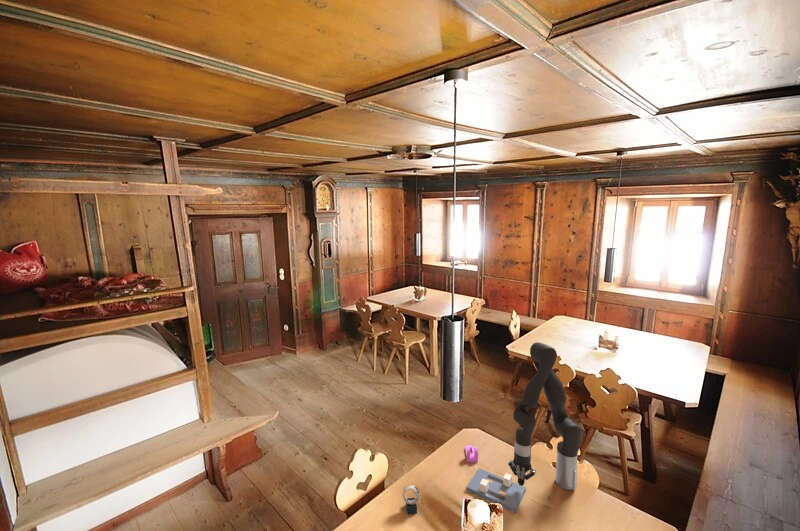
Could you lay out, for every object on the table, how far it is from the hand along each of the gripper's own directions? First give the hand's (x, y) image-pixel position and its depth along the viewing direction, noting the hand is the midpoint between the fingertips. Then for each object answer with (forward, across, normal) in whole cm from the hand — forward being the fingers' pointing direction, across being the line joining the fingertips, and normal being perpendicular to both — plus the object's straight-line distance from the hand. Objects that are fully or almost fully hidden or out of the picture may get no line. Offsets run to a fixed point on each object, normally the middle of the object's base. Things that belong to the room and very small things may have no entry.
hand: (520, 484), depth 167 cm
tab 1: (+3, +14, +10) cm, 18 cm away
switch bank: (+5, +10, +5) cm, 13 cm away
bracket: (+6, +32, -13) cm, 35 cm away
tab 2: (+3, +6, 0) cm, 7 cm away
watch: (+6, +38, +38) cm, 54 cm away
